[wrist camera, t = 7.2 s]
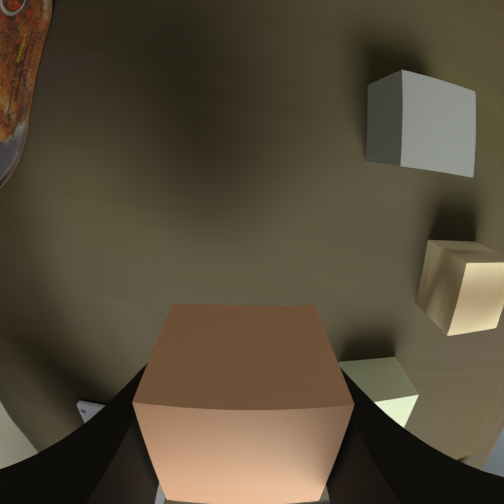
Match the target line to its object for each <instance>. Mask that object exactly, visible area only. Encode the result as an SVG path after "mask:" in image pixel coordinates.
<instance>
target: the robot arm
mask: <svg viewBox="0 0 504 504" xmlns="http://www.w3.org/2000/svg"><path fill="white" fill-rule="evenodd" d="M147 364H148V363H147ZM147 364H146V365H145V366H144V367H143V368H142V369H141V370H140V371H139V372H138V373H137V374H136V375H135V377H134V378H133V379H132V380H131V381H130V382H129V383H128V384H127V385H126V386H125V387H124V388H123V389H122V390H121V391H120V392H119V393H118V394H117V395H116V396H115V397H114V398H113V399H112V400H111V401H110V402H109V403H108V404H107V405H101V404H96V403H90V402H85V401H78V403H77V407H78V409H79V412H80V414H81V416H82V419H83V421H84V424H83V425H82V426H81V427H79V428H78V429H77V430H75V431H74V432H72V433H71V434H70V435H68V436H67V437H65V438H64V439H62V440H61V441H59V442H57V443H55V444H54V445H52V446H50V447H48V448H47V449H45V450H43V451H41V452H39V453H38V454H36V455H34V456H32V457H30V458H27V459H25V460H23V461H21V462H18V463H16V464H13V465H11V466H8V467H5V468H2V469H0V504H164V499H165V494H164V492H163V490H162V487H161V485H160V482H159V480H158V477H157V474H156V472H155V469H154V467H153V464H152V461H151V458H150V456H149V453H148V450H147V447H146V444H145V441H144V438H143V435H142V432H141V429H140V426H139V423H138V420H137V416H136V413H135V410H134V406H133V403H132V402H133V399H134V397H135V394H136V391H137V389H138V386H139V384H140V381H141V379H142V376H143V374H144V371H145V369H146V366H147ZM339 367H340V366H339ZM340 369H341V367H340ZM341 372H342V374H343V377H344V379H345V382H346V384H347V387H348V389H349V392H350V394H351V397H352V400H353V402H354V407H353V411H352V414H351V417H350V420H349V423H348V426H347V429H346V432H345V435H344V437H343V440H342V443H341V446H340V449H339V451H338V454H337V457H336V459H335V462H334V465H333V467H332V470H331V472H330V475H329V477H328V480H327V482H326V486H327V490H328V494H329V499H330V504H504V477H501V476H498V475H494V474H491V473H487V472H484V471H481V470H479V469H476V468H473V467H471V466H468V465H466V464H464V463H461V462H459V461H457V460H455V459H453V458H451V457H449V456H447V455H445V454H443V453H442V452H440V451H438V450H436V449H434V448H433V447H431V446H429V445H428V444H426V443H424V442H423V441H421V440H420V439H419V438H417V437H416V436H414V435H413V434H411V433H410V432H408V431H407V430H406V429H404V428H403V427H402V426H401V425H399V424H398V423H397V422H396V421H394V420H393V419H392V418H391V417H390V416H389V415H387V414H386V413H385V412H384V411H383V410H382V409H381V408H380V407H379V406H377V405H376V404H375V403H374V402H373V401H372V400H371V399H370V398H369V397H368V396H367V395H366V394H365V393H364V392H363V391H362V390H361V389H360V388H359V387H358V386H357V385H356V383H355V382H354V381H353V380H352V379H351V378H350V377H349V376H348V375H347V374H346V373H345V372H344V371H343V370H342V369H341Z"/></svg>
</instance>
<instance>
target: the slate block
mask: <svg viewBox="0 0 504 504" xmlns="http://www.w3.org/2000/svg"><path fill="white" fill-rule="evenodd" d="M367 91H368V96H367V142H366V161H370V162H377V163H384V164H391V165H397V166H404V167H411V168H419V169H425V170H432V171H438V172H444V173H450V174H456V175H462V176H467V177H472V178H473V174H474V160H475V138H476V101H475V92H474V91H472V90H469V89H466V88H463V87H460V86H457V85H454V84H451V83H448V82H445V81H442V80H438V79H435V78H432V77H428V76H425V75H421V74H417V73H413V72H409V71H405V70H400V71H398V72H395V73H393V74H391V75H389V76H386V77H384V78H382V79H380V80H378V81H375V82H373V83H371V84H369V85H367Z"/></svg>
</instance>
